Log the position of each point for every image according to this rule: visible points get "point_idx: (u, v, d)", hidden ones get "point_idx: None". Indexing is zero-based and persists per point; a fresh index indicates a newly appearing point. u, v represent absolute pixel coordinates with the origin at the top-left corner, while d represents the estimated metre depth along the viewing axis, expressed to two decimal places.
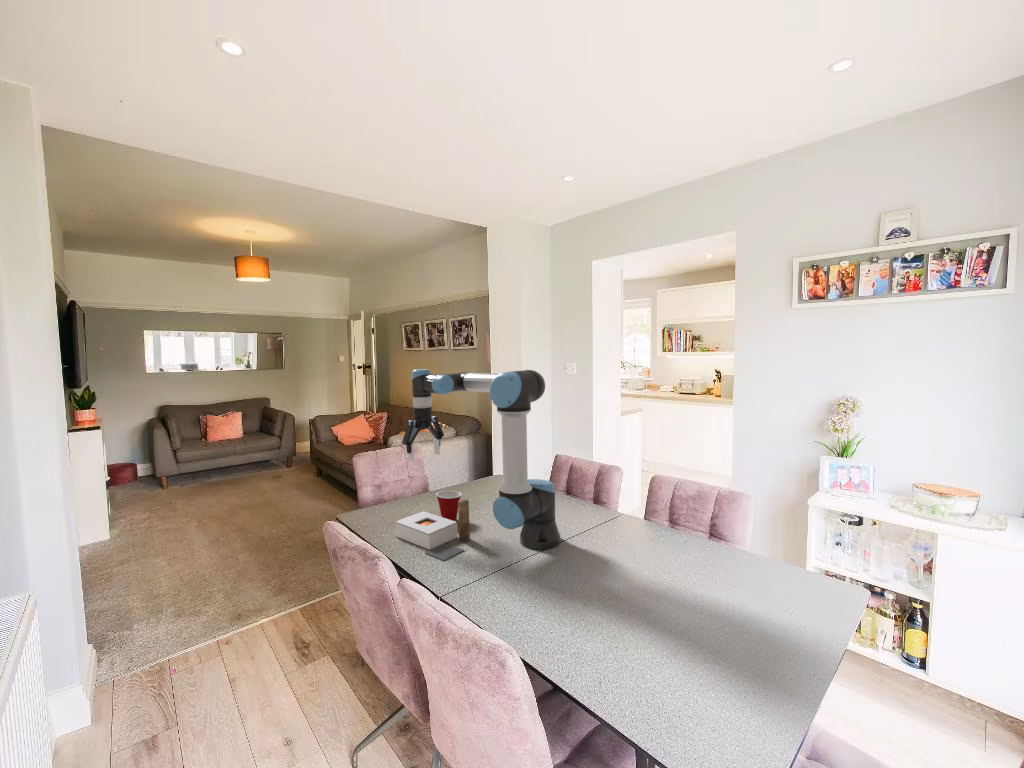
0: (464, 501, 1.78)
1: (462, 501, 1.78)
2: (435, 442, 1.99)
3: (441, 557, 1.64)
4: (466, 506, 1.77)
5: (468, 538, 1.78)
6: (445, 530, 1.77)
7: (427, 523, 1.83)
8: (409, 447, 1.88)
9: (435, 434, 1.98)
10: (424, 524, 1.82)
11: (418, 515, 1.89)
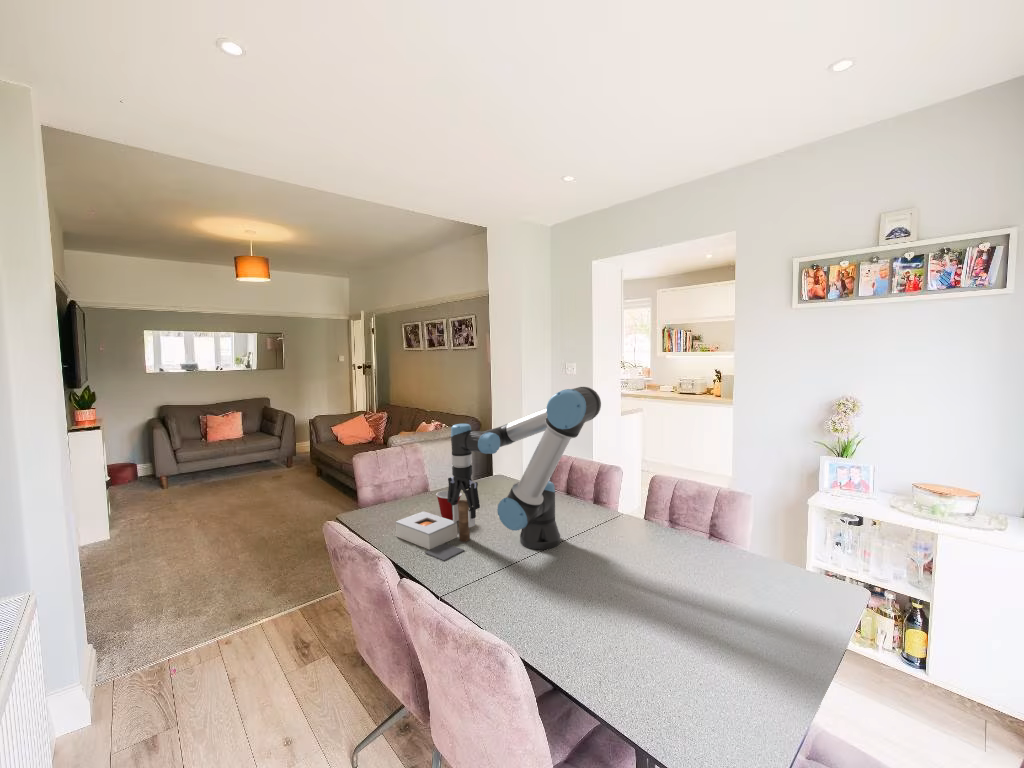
0: (464, 501, 1.78)
1: (462, 501, 1.78)
2: None
3: (441, 557, 1.64)
4: (466, 506, 1.77)
5: (468, 538, 1.78)
6: (445, 530, 1.77)
7: (427, 523, 1.83)
8: (452, 506, 1.81)
9: None
10: (424, 524, 1.82)
11: (418, 515, 1.89)
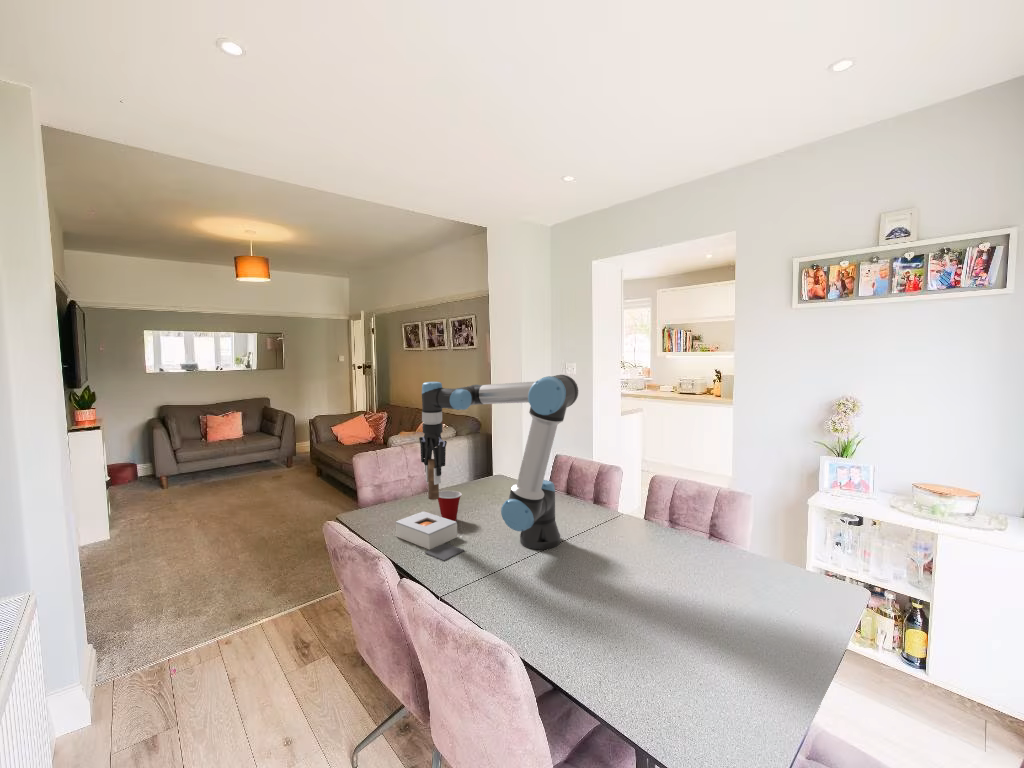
0: None
1: (432, 460, 1.79)
2: None
3: (441, 557, 1.64)
4: None
5: (437, 496, 1.80)
6: (445, 530, 1.77)
7: (427, 523, 1.83)
8: (425, 466, 1.82)
9: None
10: (424, 524, 1.82)
11: (418, 515, 1.89)
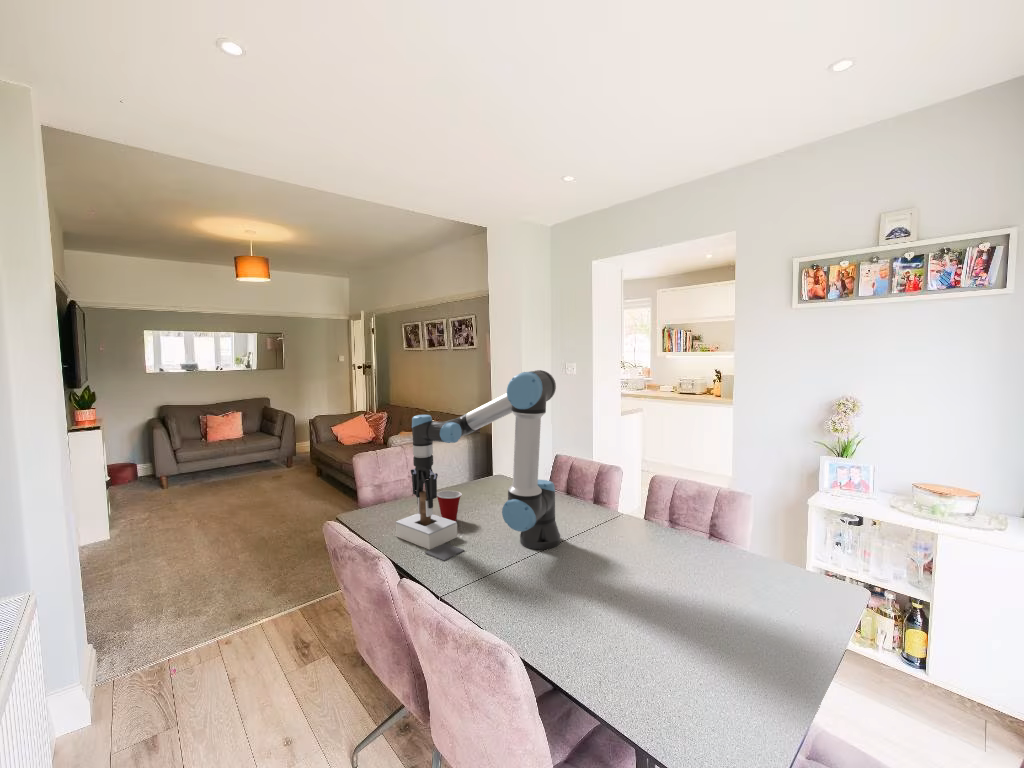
0: (425, 492, 1.81)
1: (423, 492, 1.81)
2: None
3: (441, 557, 1.64)
4: None
5: None
6: (445, 530, 1.77)
7: None
8: (417, 498, 1.83)
9: (426, 491, 1.79)
10: None
11: (418, 515, 1.89)
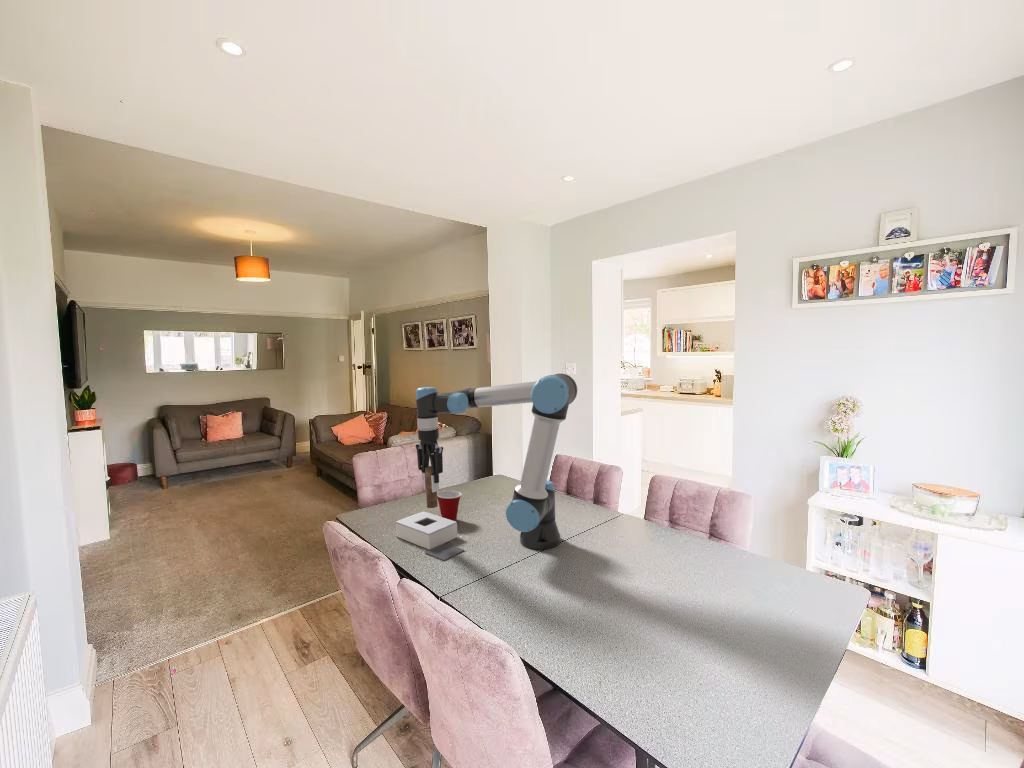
0: (431, 467, 1.75)
1: (429, 467, 1.75)
2: None
3: (441, 557, 1.64)
4: None
5: (435, 504, 1.75)
6: (445, 530, 1.77)
7: None
8: (423, 474, 1.77)
9: None
10: None
11: (418, 515, 1.89)
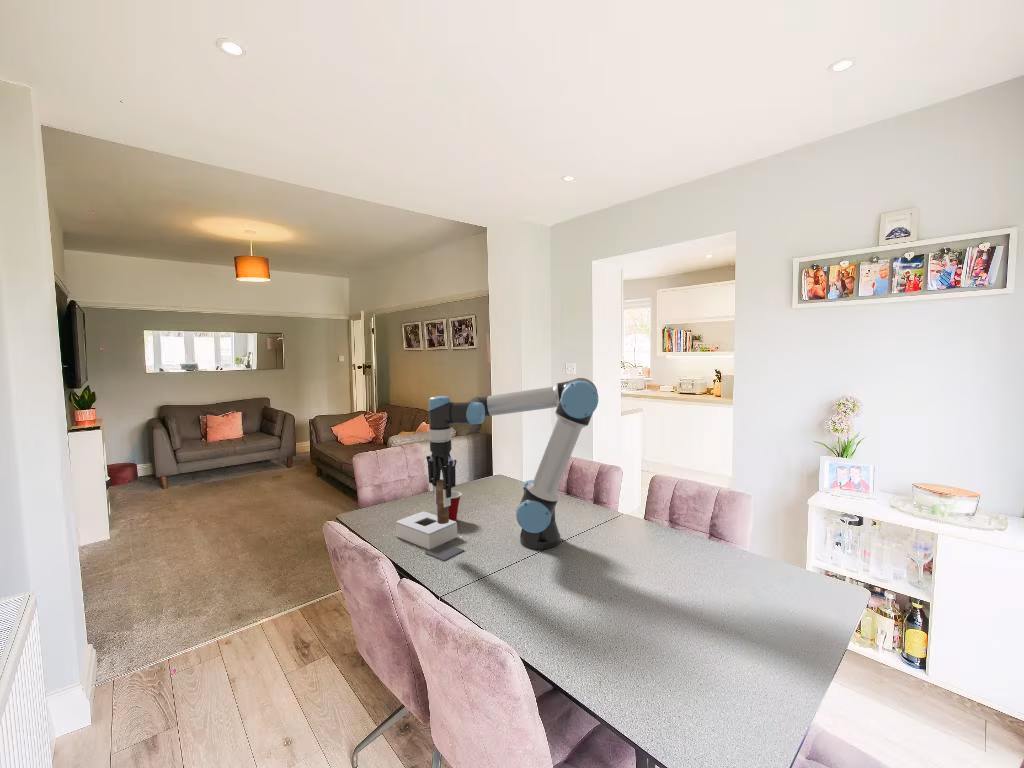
0: None
1: (440, 480, 1.66)
2: None
3: (441, 557, 1.64)
4: None
5: (447, 520, 1.67)
6: (445, 530, 1.77)
7: None
8: None
9: None
10: None
11: (418, 515, 1.89)
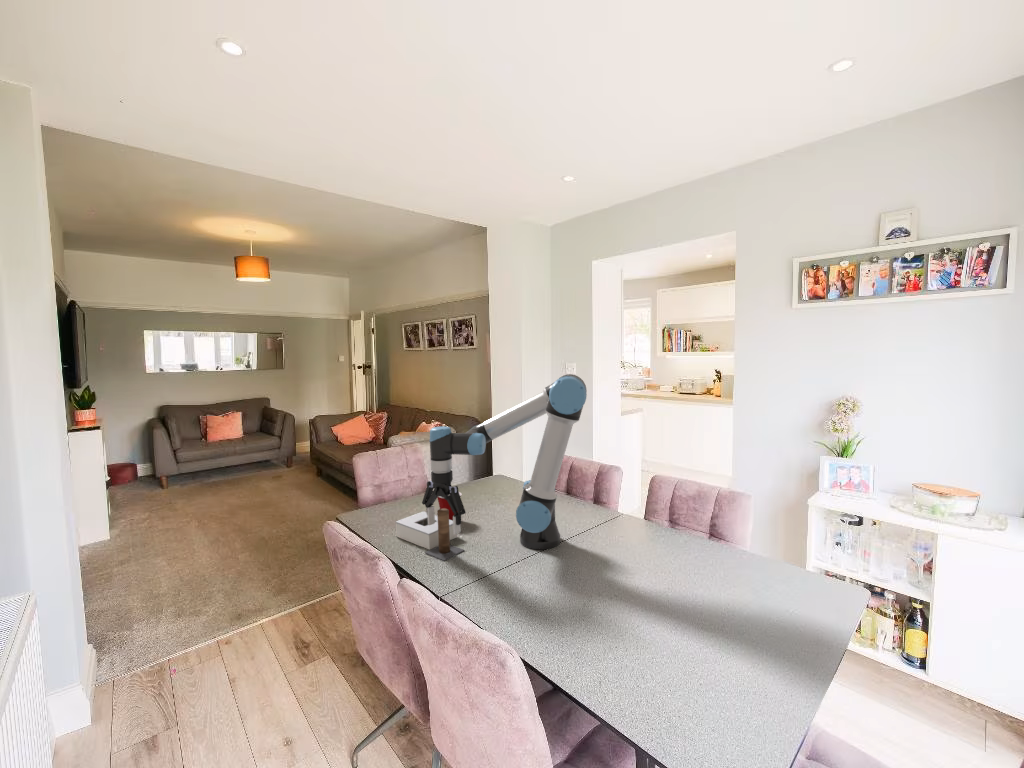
0: (444, 510, 1.67)
1: (442, 510, 1.67)
2: None
3: (441, 557, 1.64)
4: (446, 516, 1.66)
5: (448, 550, 1.67)
6: None
7: None
8: (427, 508, 1.72)
9: (451, 508, 1.63)
10: None
11: (418, 515, 1.89)
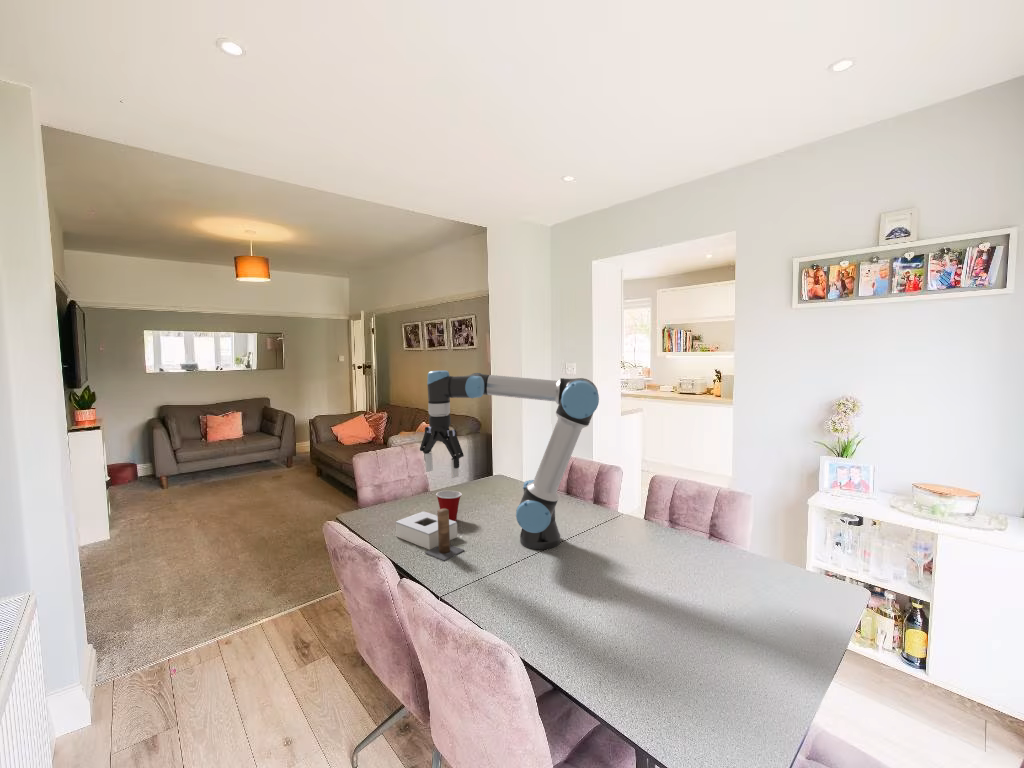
0: (444, 510, 1.67)
1: (442, 510, 1.67)
2: None
3: (441, 557, 1.64)
4: (446, 516, 1.66)
5: (448, 550, 1.67)
6: None
7: None
8: None
9: None
10: None
11: (418, 515, 1.89)
